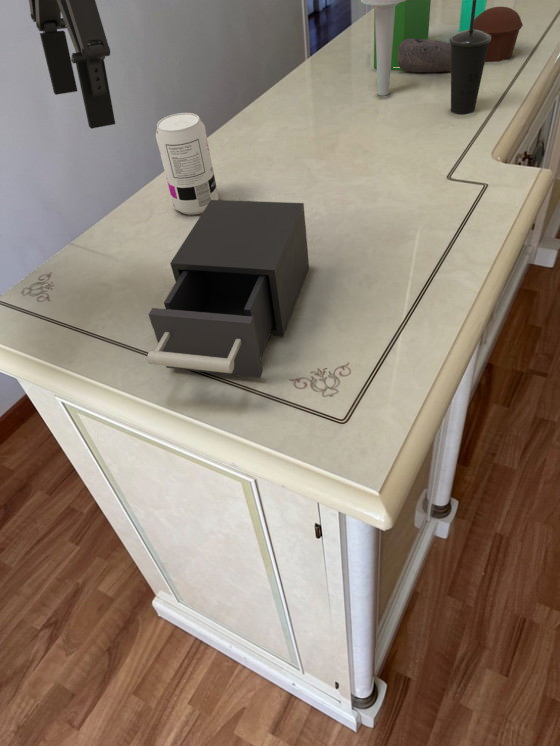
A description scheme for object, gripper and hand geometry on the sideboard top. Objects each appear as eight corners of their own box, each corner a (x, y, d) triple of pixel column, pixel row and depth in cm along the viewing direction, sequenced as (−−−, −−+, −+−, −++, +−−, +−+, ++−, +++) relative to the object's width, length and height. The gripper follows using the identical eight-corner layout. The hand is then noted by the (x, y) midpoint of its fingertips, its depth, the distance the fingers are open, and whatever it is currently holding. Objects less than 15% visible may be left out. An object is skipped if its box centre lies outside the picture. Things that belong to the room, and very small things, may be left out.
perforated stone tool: (463, 68, 139) (467, 35, 134) (460, 76, 136) (463, 43, 131) (400, 67, 144) (401, 35, 139) (395, 75, 141) (396, 43, 136)
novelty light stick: (356, 102, 132) (355, -31, 114) (366, 85, 138) (366, -43, 120) (401, 102, 129) (406, -33, 111) (409, 85, 135) (415, -45, 118)
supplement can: (165, 210, 106) (143, 128, 95) (194, 189, 110) (176, 108, 100) (199, 220, 102) (180, 135, 92) (228, 198, 107) (213, 114, 96)
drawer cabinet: (283, 336, 78) (274, 269, 71) (188, 327, 82) (169, 263, 74) (309, 267, 89) (303, 202, 81) (223, 262, 92) (210, 199, 85)
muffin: (508, 45, 147) (516, -1, 140) (524, 59, 139) (533, 11, 132) (461, 51, 147) (466, 6, 140) (474, 66, 139) (480, 18, 132)
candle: (472, 44, 150) (479, -10, 142) (453, 40, 153) (458, -13, 145) (486, 37, 153) (493, -17, 144) (466, 34, 156) (472, -19, 147)
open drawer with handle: (248, 408, 69) (236, 353, 62) (151, 396, 72) (130, 342, 66) (288, 304, 82) (282, 249, 75) (204, 297, 85) (191, 244, 79)
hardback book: (400, 44, 156) (404, -67, 139) (427, 46, 153) (435, -68, 136) (373, 68, 145) (374, -49, 129) (402, 70, 142) (407, -50, 125)
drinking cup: (436, 109, 124) (444, 1, 110) (465, 99, 126) (477, -9, 112) (459, 120, 119) (472, 8, 105) (489, 110, 121) (505, -2, 107)
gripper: (118, -132, 47) (154, 135, 62) (37, -137, 63) (81, 76, 77) (23, -131, 44) (84, 149, 59) (-37, -137, 60) (23, 85, 74)
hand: (83, 108), depth 68 cm, fingers open, 13 cm apart
